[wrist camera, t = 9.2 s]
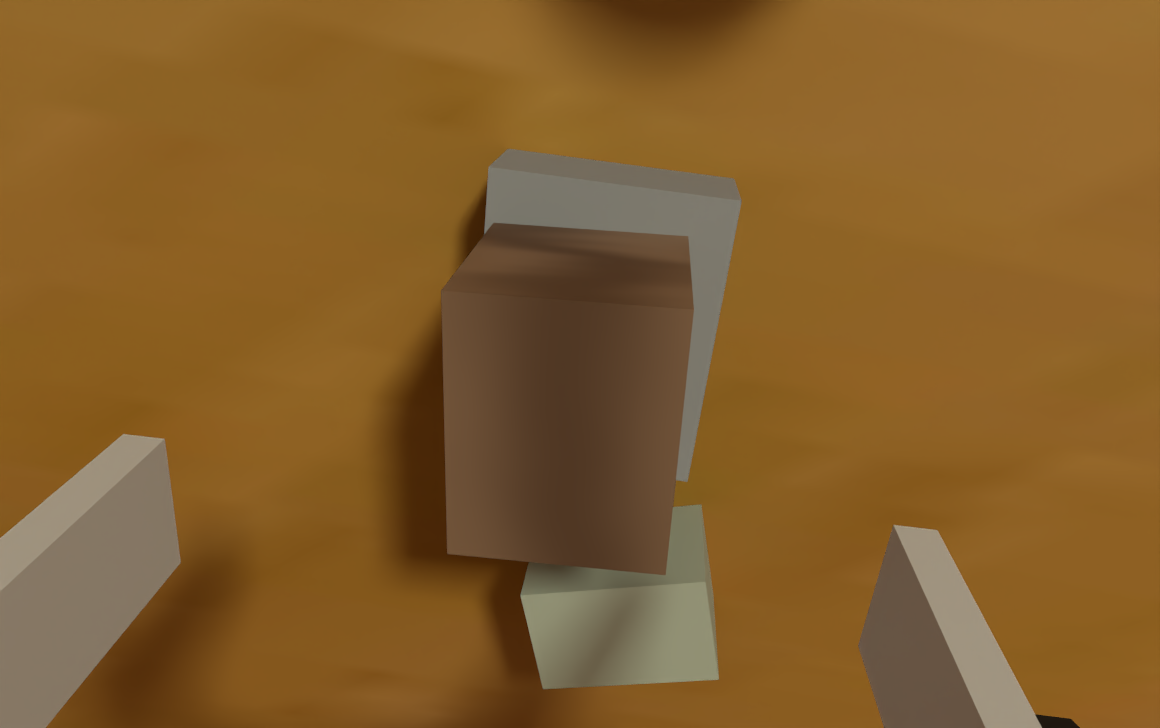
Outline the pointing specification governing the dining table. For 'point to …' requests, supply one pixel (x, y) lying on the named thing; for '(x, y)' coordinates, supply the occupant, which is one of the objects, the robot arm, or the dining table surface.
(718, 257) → the grey slab
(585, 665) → the sage block
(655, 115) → the dining table surface
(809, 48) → the dining table surface
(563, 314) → the walnut block
